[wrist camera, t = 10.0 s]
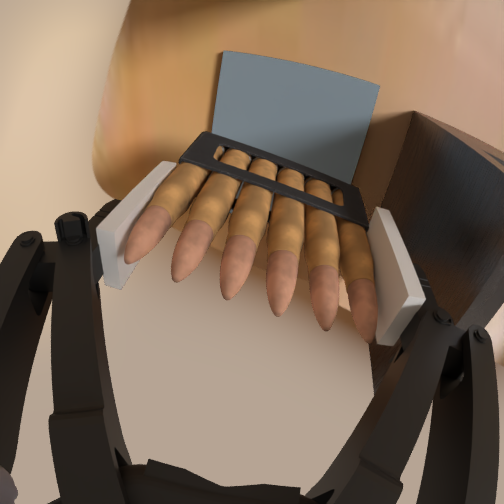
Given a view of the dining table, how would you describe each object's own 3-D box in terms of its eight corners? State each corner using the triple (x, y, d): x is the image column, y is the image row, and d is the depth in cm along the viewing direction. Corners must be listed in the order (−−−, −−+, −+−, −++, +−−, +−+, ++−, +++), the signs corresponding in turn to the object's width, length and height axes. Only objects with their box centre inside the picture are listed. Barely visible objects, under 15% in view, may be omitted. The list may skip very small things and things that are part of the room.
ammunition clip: (195, 156, 20) (101, 272, 10) (202, 130, 19) (102, 231, 9) (347, 211, 21) (376, 361, 11) (359, 188, 20) (404, 332, 10)
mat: (378, 84, 21) (379, 85, 20) (332, 232, 29) (332, 235, 28) (225, 50, 21) (223, 50, 20) (204, 204, 29) (203, 207, 29)
